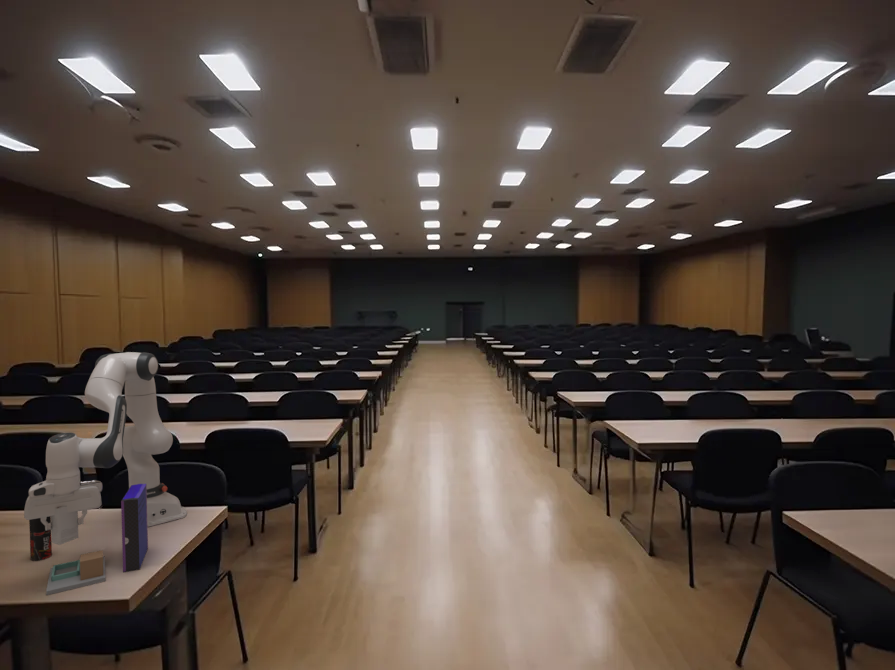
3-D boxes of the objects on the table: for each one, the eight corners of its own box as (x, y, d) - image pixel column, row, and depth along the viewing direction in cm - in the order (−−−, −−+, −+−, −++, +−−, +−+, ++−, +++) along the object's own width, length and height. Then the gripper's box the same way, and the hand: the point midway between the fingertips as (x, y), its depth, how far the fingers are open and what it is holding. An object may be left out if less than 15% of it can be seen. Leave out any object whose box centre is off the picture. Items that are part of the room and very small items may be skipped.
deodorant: (39, 553, 187) (38, 511, 186) (56, 553, 186) (54, 511, 186) (26, 560, 181) (24, 518, 180) (42, 561, 180) (41, 518, 180)
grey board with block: (104, 559, 181) (104, 539, 181) (105, 581, 166) (104, 558, 166) (50, 571, 173) (49, 550, 173) (46, 595, 158) (45, 571, 158)
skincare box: (70, 536, 173) (69, 500, 173) (79, 538, 171) (78, 501, 171) (50, 543, 168) (49, 506, 167) (59, 545, 166) (58, 508, 165)
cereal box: (132, 550, 188) (131, 484, 187) (148, 548, 190) (146, 483, 189) (123, 572, 172) (121, 500, 171) (139, 569, 174) (137, 498, 173)
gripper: (102, 476, 177) (103, 516, 178) (24, 487, 166) (26, 530, 166) (102, 481, 172) (103, 522, 172) (22, 493, 161) (23, 537, 161)
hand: (64, 526), depth 169 cm, fingers closed on skincare box, 7 cm apart
